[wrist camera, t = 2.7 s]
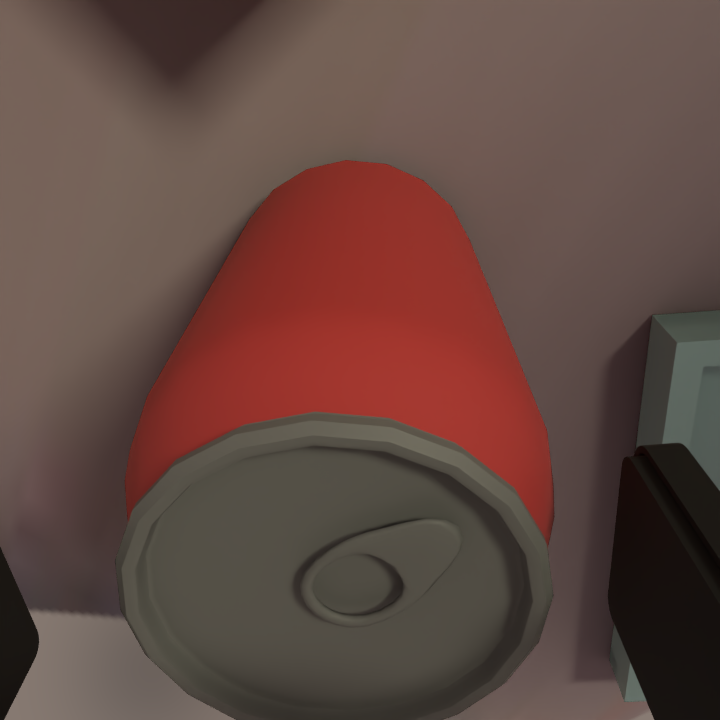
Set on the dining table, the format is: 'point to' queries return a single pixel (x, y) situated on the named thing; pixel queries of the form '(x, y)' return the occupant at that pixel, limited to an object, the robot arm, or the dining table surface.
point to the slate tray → (678, 416)
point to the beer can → (341, 469)
